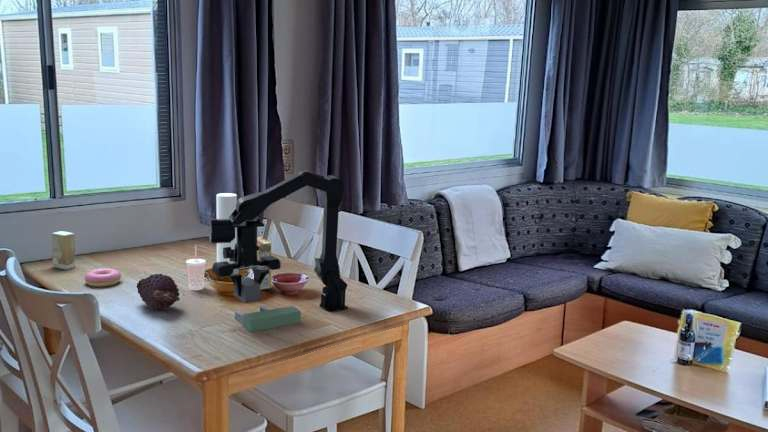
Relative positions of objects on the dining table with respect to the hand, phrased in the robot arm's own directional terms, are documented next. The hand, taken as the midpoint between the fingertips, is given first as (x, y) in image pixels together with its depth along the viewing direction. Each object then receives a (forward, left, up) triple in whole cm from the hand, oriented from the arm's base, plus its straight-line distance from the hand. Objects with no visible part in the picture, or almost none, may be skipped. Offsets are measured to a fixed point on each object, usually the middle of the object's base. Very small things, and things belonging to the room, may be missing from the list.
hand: (247, 294), depth 193 cm
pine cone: (+20, -17, -6) cm, 27 cm away
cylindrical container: (-17, -56, -6) cm, 59 cm away
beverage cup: (+4, -30, -6) cm, 31 cm away
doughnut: (+28, -49, -6) cm, 57 cm away
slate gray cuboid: (0, 0, -1) cm, 1 cm away
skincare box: (+35, -73, -6) cm, 81 cm away
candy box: (-15, -23, -6) cm, 28 cm away
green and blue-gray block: (-2, +8, -6) cm, 10 cm away
